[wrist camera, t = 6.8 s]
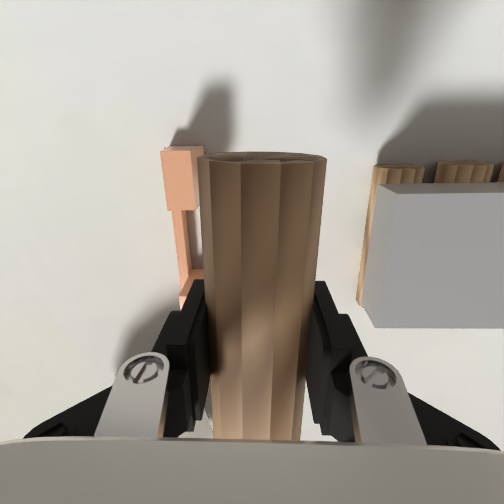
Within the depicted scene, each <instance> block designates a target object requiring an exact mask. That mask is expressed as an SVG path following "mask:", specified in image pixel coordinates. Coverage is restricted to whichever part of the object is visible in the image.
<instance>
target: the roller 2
mask: <svg viewBox="0 0 504 504" xmlns="http://www.w3.org/2000/svg"><path fill="white" fill-rule="evenodd" d="M424 171H425V167H423V166H420V165H411V164H378V165H374V166H373V173H372V181H371V189H370V196H369V204H368V211H367V219H366V226H365V234H364V242H363V249H362V257H361V264H360V272H359V279H358V287H357V295H356V301H357V302H358V304H359V305H360V306H361V307H363V305H362V303H361V301H362V293H363V286H364V279H365V271H366V264H367V257H368V249H369V242H370V235H371V228H372V220H373V213H374V206H375V198H376V191H377V184H407V183H422V182H423V176H424ZM363 308H364V307H363Z"/></svg>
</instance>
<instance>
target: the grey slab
mask: <svg viewBox="0 0 504 504" xmlns="http://www.w3.org/2000/svg"><path fill="white" fill-rule="evenodd" d="M361 303H362V305H363V307H364V309H365V311H366V312H367V314H368V316H369V318H370V320H371V321H372V323H373V325H374V327H375V328H504V182H481V183H407V184H377V191H376V198H375V206H374V213H373V220H372V228H371V235H370V242H369V249H368V257H367V264H366V271H365V279H364V286H363V293H362V301H361Z"/></svg>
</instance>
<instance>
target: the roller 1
mask: <svg viewBox="0 0 504 504" xmlns="http://www.w3.org/2000/svg"><path fill="white" fill-rule="evenodd" d="M326 163H327V159H326V158H324V157H322V156H319V155H311V154H303V153H286V152H224V153H213V154H204V155H201V156H199V157H197V168H198V185H199V202H200V218H201V235H202V252H203V269H204V286H205V302H206V304H207V317H208V335H209V352H210V369H211V376H210V386H211V403H212V420H213V437H214V438H218V439H258V440H295V441H300V434H301V424H302V414H303V403H304V393H305V382H306V366H307V356H308V345H309V334H310V324H311V313H312V306H313V299H314V288H315V278H316V267H317V257H318V246H319V236H320V225H321V215H322V204H323V194H324V184H325V173H326Z"/></svg>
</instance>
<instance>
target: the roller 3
mask: <svg viewBox="0 0 504 504" xmlns="http://www.w3.org/2000/svg"><path fill="white" fill-rule="evenodd" d="M493 168H494V164H493V163H487V162H478V161H439V162H438V166H437V171H436V176H435V180H434V183H481V182H490V179H491V176H492V172H493Z"/></svg>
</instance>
